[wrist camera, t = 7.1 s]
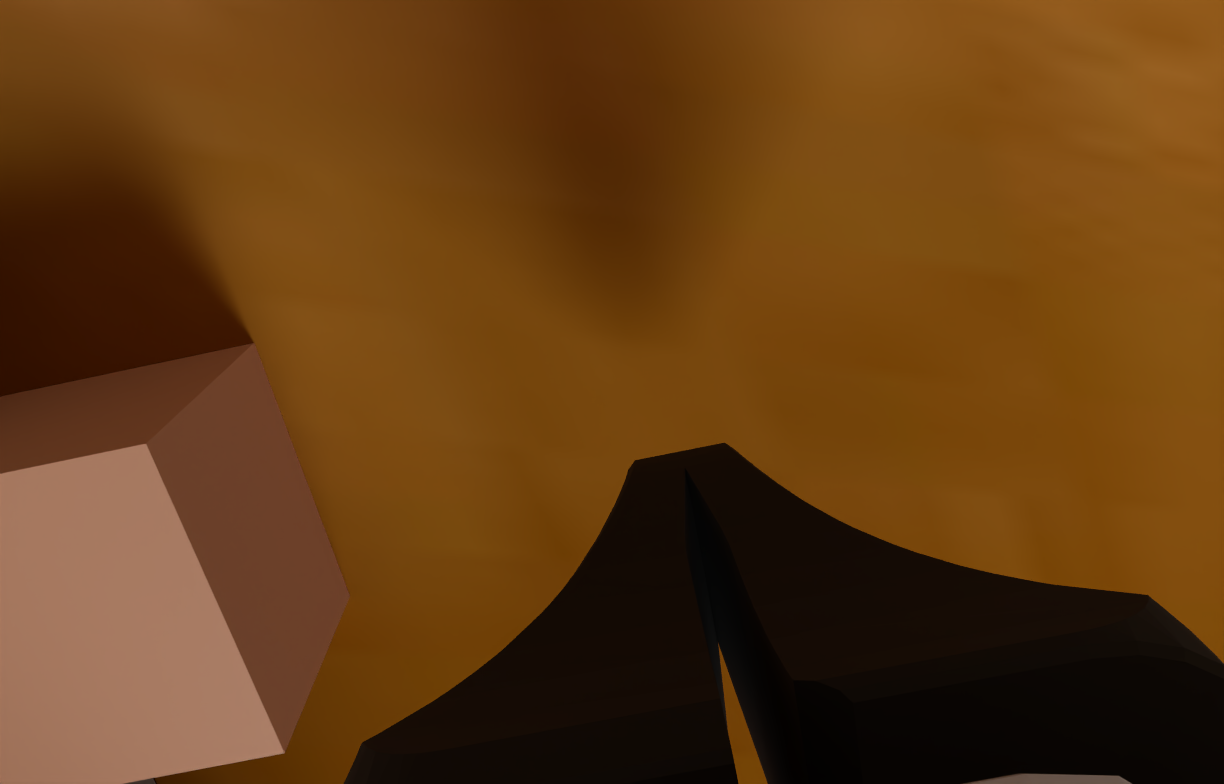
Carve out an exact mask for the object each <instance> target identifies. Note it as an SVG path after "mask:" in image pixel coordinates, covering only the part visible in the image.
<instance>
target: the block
mask: <svg viewBox="0 0 1224 784" xmlns="http://www.w3.org/2000/svg"><path fill="white" fill-rule="evenodd" d="M349 597H350V595H349V592H348V590H347V587H346V584H345V582H344V579H343V576H342V574H341V571H340V568H339V566H338V563H337V560H336V558H335V555H334V553H333V550H332V547H331V545H330V542H329V539H328V537H327V534H326V531H325V529H324V526H323V523H322V521H321V518H320V516H319V513H318V510H317V508H316V505H315V502H314V500H313V497H312V494H311V492H310V489H309V486H308V484H307V481H306V479H305V476H304V473H303V471H302V468H301V465H300V463H299V460H298V457H297V455H296V452H295V449H294V447H293V444H292V442H291V439H290V436H289V434H288V431H287V428H286V426H285V423H284V420H283V418H282V415H281V412H280V410H279V407H278V405H277V402H276V399H275V397H274V394H273V391H272V389H271V386H270V383H269V381H268V378H267V375H266V373H265V370H264V368H263V365H262V362H261V360H260V357H259V354H258V352H257V349H256V346H255V344H254V343H252V344H247V345H242V346H237V347H233V348H228V349H223V350H218V351H214V352H209V353H204V354H199V355H195V356H190V357H185V358H180V359H176V360H171V361H166V362H162V363H157V364H152V365H147V366H143V367H138V368H133V369H128V370H124V371H119V372H114V373H109V374H105V375H100V376H95V377H90V378H86V379H81V380H76V381H71V382H67V383H62V384H57V385H53V386H48V387H43V388H38V389H34V390H29V391H24V392H19V393H15V394H10V395H5V396H0V784H124V783H129V782H135V781H140V780H145V779H150V778H156V777H161V776H166V775H172V774H177V773H182V772H188V771H193V770H198V769H203V768H209V767H214V766H219V765H225V764H230V763H235V762H241V761H246V760H251V759H256V758H262V757H267V756H272V755H278V754H283V753H285V751H286V748H287V746H288V744H289V741H290V739H291V736H292V734H293V732H294V729H295V727H296V724H297V722H298V720H299V717H300V715H301V712H302V710H303V708H304V705H305V703H306V700H307V698H308V696H309V693H310V691H311V688H312V686H313V683H314V681H315V679H316V676H317V674H318V671H319V669H320V667H321V664H322V662H323V659H324V657H325V655H326V652H327V650H328V647H329V645H330V643H331V640H332V638H333V635H334V633H335V630H336V628H337V626H338V623H339V621H340V618H341V616H342V614H343V611H344V609H345V606H346V604H347V602H348V599H349Z"/></svg>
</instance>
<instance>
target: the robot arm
mask: <svg viewBox="0 0 1224 784" xmlns="http://www.w3.org/2000/svg"><path fill="white" fill-rule="evenodd" d="M718 643H719V646H720V649H721V652H722V655H723V658H724V660H725V663H726V666H727V669H728V672H729V675H730V678H731V680H732V683H733V686H734V689H735V692H736V695H737V697H738V700H739V703H740V706H741V709H742V711H743V714H744V717H745V720H746V723H747V726H748V728H749V731H750V734H751V737H752V740H753V743H754V745H755V748H756V751H757V754H758V757H759V759H760V762H761V765H762V768H763V771H764V774H765V776H766V779H767V783H768V784H1224V664H1223V663H1222V662H1221V660H1220V659H1219V658H1218V657H1217V656H1216V655H1215V654H1214V653H1213V652H1212V651H1211V650H1210V649H1209V648H1208V647H1207V646H1206V645H1205V644H1204V643H1203V642H1202V641H1201V640H1200V639H1199V638H1197V637H1196V636H1195V635H1194V634H1193V633H1192V632H1191V631H1190V630H1189V629H1188V628H1187V627H1185V626H1184V625H1183V624H1182V623H1181V622H1179V621H1178V620H1177V619H1176V618H1175V617H1174V616H1172V615H1171V614H1170V613H1169V612H1168V611H1166V610H1165V609H1164V608H1163V607H1162V606H1160V605H1159V604H1158V603H1157V602H1155V601H1154V600H1153V599H1152V598H1151V597H1149V596H1148V595H1142V594H1133V593H1124V592H1115V591H1106V590H1097V589H1088V588H1079V587H1069V586H1060V585H1052V584H1046V583H1040V582H1034V581H1029V580H1024V579H1019V578H1014V577H1008V576H1003V575H998V574H993V573H988V572H984V571H980V570H976V569H972V568H968V567H963V566H960V565H956V564H953V563H949V562H946V561H943V560H939V559H936V558H933V557H929V556H926V555H923V554H919V553H916V552H913V551H910V550H908V549H905V548H902V547H899V546H896V545H894V544H891V543H889V542H886V541H884V540H881V539H879V538H877V537H874V536H872V535H870V534H867V533H865V532H862V531H860V530H858V529H855V528H853V527H851V526H849V525H847V524H845V523H843V522H841V521H839V520H837V519H835V518H833V517H831V516H830V515H828V514H826V513H824V512H822V511H821V510H819V509H817V508H815V507H813V506H812V505H810V504H808V503H806V502H805V501H803V500H802V499H800V498H799V497H797V496H796V495H794V494H793V493H791V492H790V491H788V490H787V489H785V488H784V487H782V486H781V485H779V484H778V483H776V482H775V481H774V480H772V479H771V478H770V477H768V476H767V475H766V474H764V473H763V472H762V471H760V470H759V469H758V468H757V467H755V466H754V465H753V464H751V463H750V462H749V461H748V460H746V459H745V458H744V457H743V456H742V455H740V454H739V453H738V452H737V451H736V450H734V449H733V448H732V447H730V446H729V445H727V444H726V443H721V444H716V445H711V446H706V447H700V448H695V449H690V450H685V451H680V452H675V453H670V454H665V455H660V456H655V457H650V458H645V459H640V460H635V461H634V463H633V464H632V465H631V467H630V468H629V470H628V473H627V476H626V479H625V482H624V485H623V487H622V489H621V492H620V494H619V496H618V499H617V501H616V503H615V505H614V507H613V509H612V511H611V513H610V515H609V517H608V519H607V521H606V523H605V525H604V526H603V528H602V530H601V532H600V534H599V536H598V537H597V539H596V541H595V542H594V544H593V546H592V547H591V549H590V550H589V552H588V553H587V555H586V556H585V558H584V560H583V561H582V563H581V564H580V566H579V567H578V569H577V570H576V572H575V573H574V575H573V576H572V577H571V579H570V580H569V582H568V583H567V584H566V586H565V587H564V588H563V589H562V591H561V592H560V593H559V594H558V595H557V596H556V598H555V599H554V600H553V601H552V602H551V603H550V605H549V606H548V607H547V608H546V609H545V610H544V611H543V612H542V613H541V614H540V615H539V616H538V617H537V618H536V619H535V620H534V621H533V622H532V623H531V624H530V625H528V626H527V627H526V628H525V629H524V630H523V631H522V632H521V633H520V634H519V635H518V636H517V637H516V638H515V639H514V640H513V641H512V642H510V643H509V644H508V645H507V646H506V647H505V648H504V649H503V650H502V651H501V652H499V653H498V654H497V655H496V656H495V657H493V658H492V659H491V660H490V661H488V662H487V663H486V664H484V665H483V666H482V667H481V668H479V669H478V670H477V671H476V672H474V673H473V674H472V675H470V676H469V677H467V678H466V679H465V680H463V681H462V682H460V683H459V684H458V685H456V686H455V687H454V688H452V689H451V690H449V691H448V692H446V693H445V694H443V695H442V696H440V697H439V698H437V699H436V700H434V701H433V702H431V703H430V704H428V705H426V706H425V707H423V708H421V709H420V710H418V711H416V712H414V713H413V714H411V715H409V716H408V717H406V718H404V719H403V720H401V721H399V722H398V723H396V724H394V725H393V726H391V727H389V728H388V729H386V730H384V731H383V732H381V733H379V734H377V735H375V736H374V737H372V738H370V739H368V740H366V741H364V742H363V743H362V744H361V746H360V749H359V751H358V754H357V756H356V759H355V761H354V763H353V765H352V767H351V769H350V772H349V774H348V776H347V778H346V780H345V782H344V784H738V779H737V774H736V769H735V764H734V759H733V754H732V749H731V745H730V740H729V736H728V730H727V720H726V711H725V702H724V693H723V683H722V674H721V665H720V656H719V647H718Z"/></svg>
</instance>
